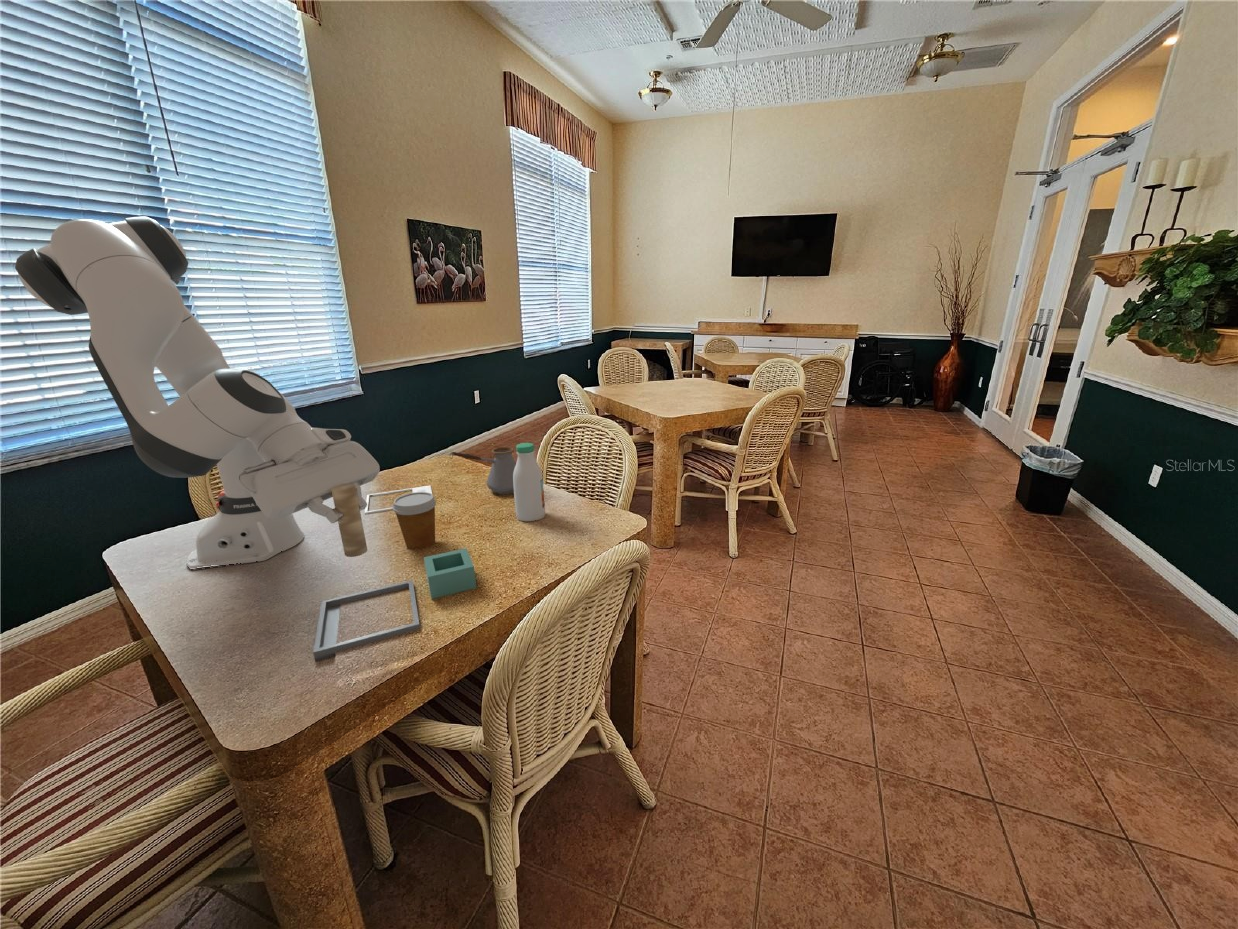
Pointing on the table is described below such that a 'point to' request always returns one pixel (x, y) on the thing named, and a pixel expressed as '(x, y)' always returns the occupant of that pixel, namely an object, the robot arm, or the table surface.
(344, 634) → the table surface
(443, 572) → the ceramic holder
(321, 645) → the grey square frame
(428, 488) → the photo frame
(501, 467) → the coffee pot
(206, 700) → the table surface
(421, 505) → the disposable coffee cup
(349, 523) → the wooden dowel
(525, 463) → the milk bottle
